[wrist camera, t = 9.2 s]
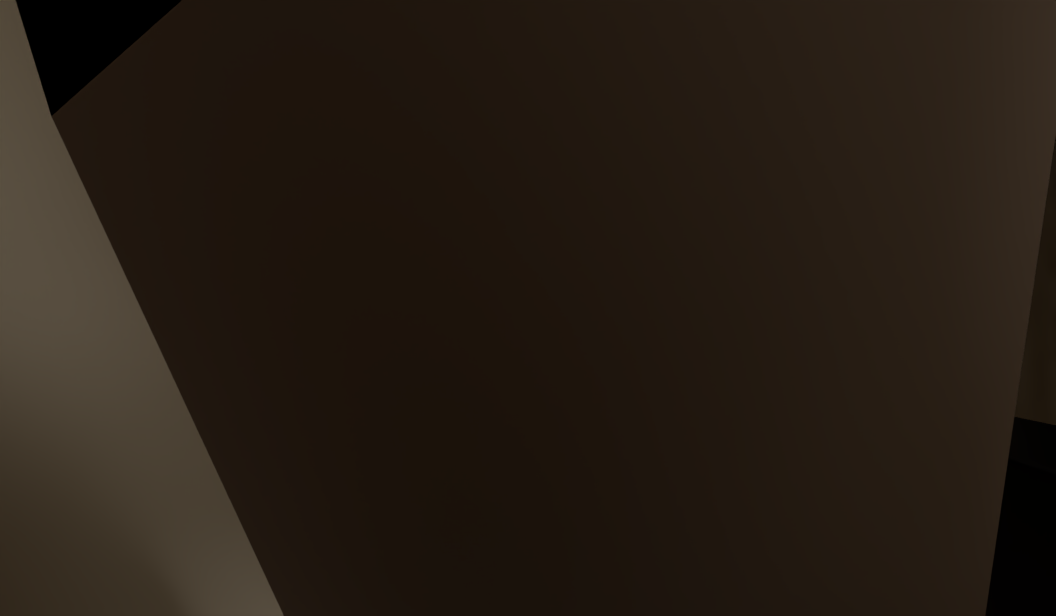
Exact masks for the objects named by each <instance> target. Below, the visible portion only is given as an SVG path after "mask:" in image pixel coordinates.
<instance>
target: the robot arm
mask: <svg viewBox="0 0 1056 616" xmlns="http://www.w3.org/2000/svg"><path fill="white" fill-rule="evenodd" d="M985 615H986V616H1056V425H1051V424H1046V423H1042V422H1037V421H1032V420H1027V419H1022V418H1017V417H1014V422H1013V429H1012V436H1011V443H1010V450H1009V457H1008V463H1007V470H1006V477H1005V484H1004V491H1003V497H1002V504H1001V511H1000V518H999V525H998V532H997V538H996V545H995V552H994V559H993V566H992V572H991V579H990V586H989V593H988V600H987V607H986V613H985Z"/></svg>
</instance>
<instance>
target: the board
mask: <svg viewBox="0 0 1056 616" xmlns="http://www.w3.org/2000/svg"><path fill="white" fill-rule="evenodd" d="M0 616H284V615H283V613H282V611H281V609H280V606H279V604H278V602H277V600H276V598H275V596H274V594H273V591H272V589H271V587H270V585H269V583H268V581H267V579H266V576H265V574H264V572H263V570H262V568H261V566H260V564H259V561H258V559H257V557H256V555H255V553H254V551H253V548H252V546H251V544H250V542H249V540H248V538H247V536H246V533H245V531H244V529H243V527H242V525H241V523H240V521H239V518H238V516H237V514H236V512H235V510H234V508H233V505H232V503H231V501H230V499H229V497H228V495H227V493H226V490H225V488H224V486H223V484H222V482H221V480H220V478H219V475H218V473H217V471H216V469H215V467H214V465H213V463H212V460H211V458H210V456H209V454H208V452H207V450H206V447H205V445H204V443H203V441H202V439H201V437H200V435H199V432H198V430H197V428H196V426H195V424H194V422H193V420H192V417H191V415H190V413H189V411H188V409H187V407H186V405H185V402H184V400H183V398H182V396H181V394H180V392H179V389H178V387H177V385H176V383H175V381H174V379H173V377H172V374H171V372H170V370H169V368H168V366H167V364H166V362H165V359H164V357H163V355H162V353H161V351H160V349H159V347H158V344H157V342H156V340H155V338H154V336H153V334H152V331H151V329H150V327H149V325H148V323H147V321H146V319H145V316H144V314H143V312H142V310H141V308H140V306H139V304H138V301H137V299H136V297H135V295H134V293H133V291H132V289H131V286H130V284H129V282H128V280H127V278H126V276H125V273H124V271H123V269H122V267H121V265H120V263H119V261H118V258H117V256H116V254H115V252H114V250H113V248H112V246H111V243H110V241H109V239H108V237H107V235H106V233H105V231H104V228H103V226H102V224H101V222H100V220H99V218H98V215H97V213H96V211H95V209H94V207H93V205H92V203H91V200H90V198H89V196H88V194H87V192H86V190H85V188H84V185H83V183H82V181H81V179H80V177H79V175H78V173H77V170H76V168H75V166H74V164H73V162H72V160H71V157H70V155H69V153H68V151H67V149H66V147H65V145H64V142H63V140H62V138H61V136H60V134H59V132H58V130H57V127H56V125H55V123H54V121H53V119H52V117H51V114H50V110H49V107H48V104H47V101H46V97H45V94H44V91H43V88H42V85H41V81H40V78H39V75H38V72H37V68H36V65H35V62H34V59H33V55H32V52H31V49H30V46H29V42H28V39H27V36H26V33H25V30H24V26H23V23H22V20H21V17H20V13H19V10H18V7H17V4H16V0H0Z"/></svg>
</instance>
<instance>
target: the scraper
mask: <svg viewBox="0 0 1056 616" xmlns="http://www.w3.org/2000/svg"><path fill="white" fill-rule="evenodd" d="M16 4H17V7H18V10H19V13H20V17H21V20H22V23H23V26H24V30H25V33H26V36H27V39H28V42H29V46H30V49H31V52H32V55H33V59H34V62H35V65H36V68H37V72H38V75H39V78H40V81H41V85H42V88H43V91H44V94H45V97H46V101H47V104H48V107H49V110H50V114H51V117H52V119H53V121H54V123H55V125H56V127H57V130H58V132H59V134H60V136H61V138H62V140H63V142H64V145H65V147H66V149H67V151H68V153H69V155H70V157H71V160H72V162H73V164H74V166H75V168H76V170H77V173H78V175H79V177H80V179H81V181H82V183H83V185H84V188H85V190H86V192H87V194H88V196H89V198H90V200H91V203H92V205H93V207H94V209H95V211H96V213H97V215H98V218H99V220H100V222H101V224H102V226H103V228H104V231H105V233H106V235H107V237H108V239H109V241H110V243H111V246H112V248H113V250H114V252H115V254H116V256H117V258H118V261H119V263H120V265H121V267H122V269H123V271H124V273H125V276H126V278H127V280H128V282H129V284H130V286H131V289H132V291H133V293H134V295H135V297H136V299H137V301H138V304H139V306H140V308H141V310H142V312H143V314H144V316H145V319H146V321H147V323H148V325H149V327H150V329H151V331H152V334H153V336H154V338H155V340H156V342H157V344H158V347H159V349H160V351H161V353H162V355H163V357H164V359H165V362H166V364H167V366H168V368H169V370H170V372H171V374H172V377H173V379H174V381H175V383H176V385H177V387H178V389H179V392H180V394H181V396H182V398H183V400H184V402H185V405H186V407H187V409H188V411H189V413H190V415H191V417H192V420H193V422H194V424H195V426H196V428H197V430H198V432H199V435H200V437H201V439H202V441H203V443H204V445H205V447H206V450H207V452H208V454H209V456H210V458H211V460H212V463H213V465H214V467H215V469H216V471H217V473H218V475H219V478H220V480H221V482H222V484H223V486H224V488H225V490H226V493H227V495H228V497H229V499H230V501H231V503H232V505H233V508H234V510H235V512H236V514H237V516H238V518H239V521H240V523H241V525H242V527H243V529H244V531H245V533H246V536H247V538H248V540H249V542H250V544H251V546H252V548H253V551H254V553H255V555H256V557H257V559H258V561H259V564H260V566H261V568H262V570H263V572H264V574H265V576H266V579H267V581H268V583H269V585H270V587H271V589H272V591H273V594H274V596H275V598H276V600H277V602H278V604H279V606H280V609H281V611H282V613H283V615H284V616H985V613H986V607H987V600H988V593H989V586H990V579H991V572H992V566H993V559H994V552H995V545H996V538H997V532H998V525H999V518H1000V511H1001V504H1002V497H1003V491H1004V484H1005V477H1006V470H1007V463H1008V457H1009V450H1010V443H1011V436H1012V429H1013V422H1014V416H1015V409H1016V402H1017V395H1018V388H1019V381H1020V375H1021V368H1022V361H1023V354H1024V347H1025V341H1026V334H1027V327H1028V320H1029V313H1030V306H1031V300H1032V293H1033V286H1034V279H1035V272H1036V266H1037V259H1038V252H1039V245H1040V238H1041V231H1042V225H1043V218H1044V211H1045V204H1046V197H1047V190H1048V184H1049V177H1050V170H1051V163H1052V156H1053V150H1054V143H1055V136H1056V0H16Z"/></svg>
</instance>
